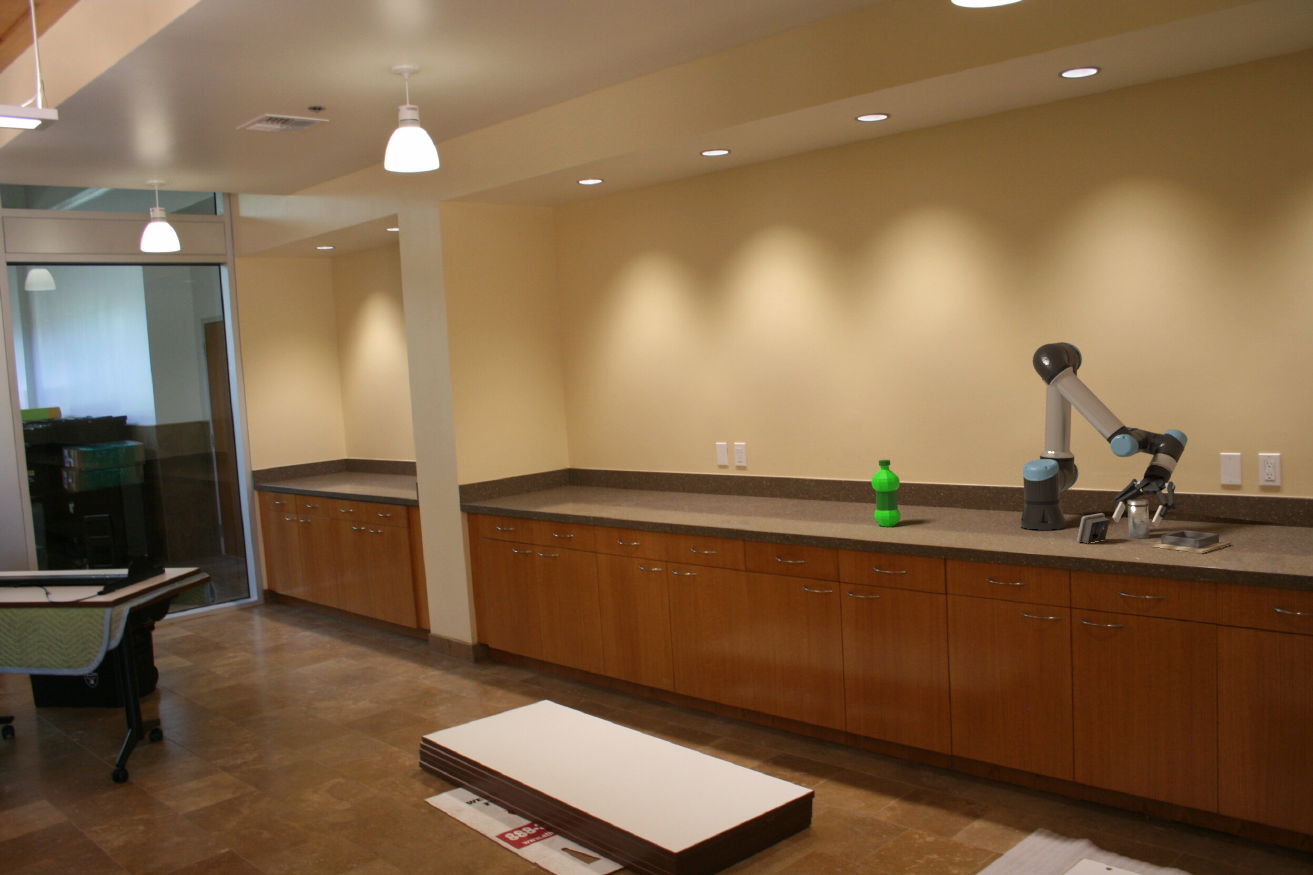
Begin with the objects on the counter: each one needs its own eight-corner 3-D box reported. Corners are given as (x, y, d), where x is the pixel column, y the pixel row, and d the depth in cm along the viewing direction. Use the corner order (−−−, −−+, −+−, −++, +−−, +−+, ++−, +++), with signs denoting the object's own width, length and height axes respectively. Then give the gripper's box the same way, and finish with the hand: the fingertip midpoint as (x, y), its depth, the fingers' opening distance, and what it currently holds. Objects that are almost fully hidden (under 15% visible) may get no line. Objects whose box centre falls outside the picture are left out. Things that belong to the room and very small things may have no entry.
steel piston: (1124, 537, 314) (1122, 501, 313) (1135, 534, 317) (1134, 498, 316) (1142, 539, 308) (1141, 502, 307) (1153, 536, 312) (1152, 500, 311)
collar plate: (1150, 547, 297) (1149, 536, 297) (1179, 538, 305) (1178, 528, 305) (1201, 554, 283) (1201, 542, 283) (1231, 545, 292) (1230, 533, 291)
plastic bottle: (899, 522, 369) (895, 458, 366) (903, 527, 358) (900, 461, 356) (872, 523, 370) (869, 459, 368) (876, 528, 359) (872, 462, 357)
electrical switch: (1097, 539, 314) (1098, 511, 313) (1110, 542, 310) (1111, 515, 308) (1076, 543, 311) (1077, 515, 309) (1089, 547, 306) (1090, 519, 304)
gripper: (1202, 480, 308) (1177, 533, 302) (1129, 475, 330) (1104, 524, 323) (1192, 465, 305) (1167, 519, 299) (1119, 461, 327) (1094, 511, 320)
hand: (1134, 522), depth 311 cm, fingers open, 13 cm apart
